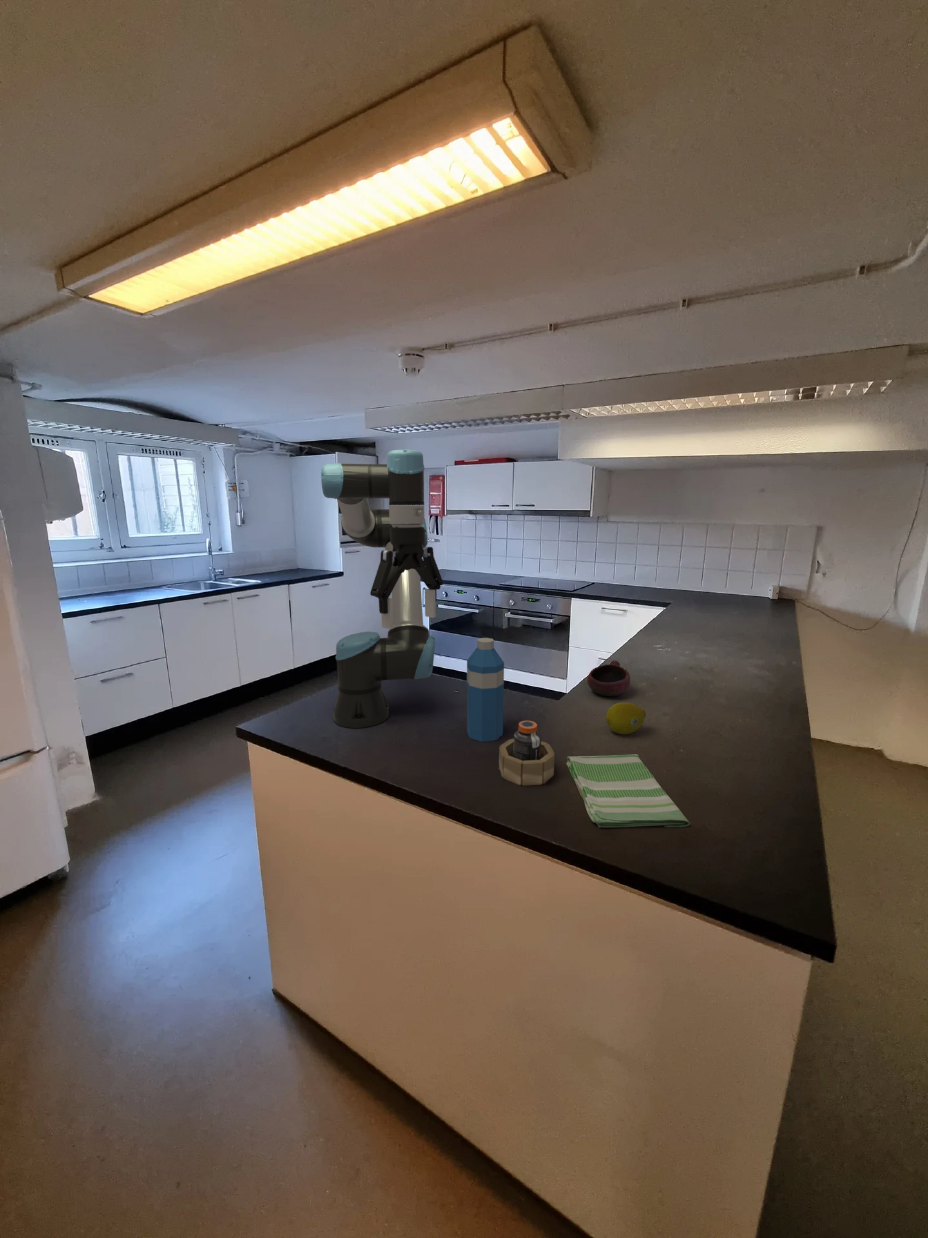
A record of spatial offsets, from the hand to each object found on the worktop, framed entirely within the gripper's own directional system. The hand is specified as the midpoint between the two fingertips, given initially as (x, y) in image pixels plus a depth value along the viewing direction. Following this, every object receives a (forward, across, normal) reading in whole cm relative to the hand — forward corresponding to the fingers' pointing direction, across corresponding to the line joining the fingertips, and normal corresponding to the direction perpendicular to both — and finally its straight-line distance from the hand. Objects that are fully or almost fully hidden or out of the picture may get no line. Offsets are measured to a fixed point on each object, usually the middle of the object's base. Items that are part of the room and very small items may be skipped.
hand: (409, 622), depth 109 cm
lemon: (+32, +41, -36) cm, 63 cm away
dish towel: (+32, +14, -45) cm, 57 cm away
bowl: (+32, +65, -21) cm, 75 cm away
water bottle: (+32, +18, -8) cm, 37 cm away
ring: (+32, +9, -26) cm, 42 cm away
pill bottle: (+32, +9, -26) cm, 42 cm away
